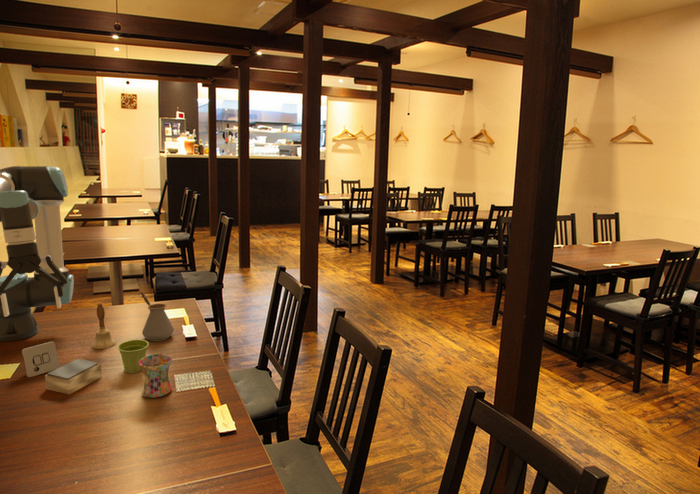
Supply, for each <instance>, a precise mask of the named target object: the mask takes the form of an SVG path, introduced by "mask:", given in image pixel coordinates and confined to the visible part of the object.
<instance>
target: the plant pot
mask: <svg viewBox="0 0 700 494" xmlns="http://www.w3.org/2000/svg"><path fill="white" fill-rule="evenodd" d="M149 345H150V343H149V341H147V340H144V339H132V340H131V339H130V340H127V341H124V342H121V343H119V344H118V345H117V350H118V351H119V353H120V356H121V360H122V364H123V369H124V372H126V373H127V374H136V373H139V372H140V371H141V372H143V371H142V369H141V367H140V366H139V361H140V360H141V359H142V358H144V357H146V356H147V350H148V347H149Z"/></svg>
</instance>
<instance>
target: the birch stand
mask: <svg viewBox="0 0 700 494" xmlns="http://www.w3.org/2000/svg"><path fill="white" fill-rule="evenodd" d="M44 376H45V377H44V379H45V380H44V381H45V387H46V390H49V391H53V392H58V393H62V394H66V395H71V394H73V393H75V392H77V391H78V390H80V389H83V388H84V387H86V386H87V385H89V384H91V383H93V382H95V381H96V380H99V379H100V378H102V377H103V376H102V365H101V363H99V362H97V361H92V360H88V359H87V360H86V359H82V358H77V359H74V360H73V361H70V362H69V363H66V364H64V365H62V366H60V367H59V368H58V369H56V370H52V371H49V372H46V374H45V375H44Z"/></svg>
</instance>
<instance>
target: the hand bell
mask: <svg viewBox="0 0 700 494" xmlns="http://www.w3.org/2000/svg"><path fill="white" fill-rule="evenodd" d="M105 314H106V313H105V308H104V305H103V304H102V303H98V304H97V308H96V316H97V319H98V323H99V329H98V330H97V331H95V338H94V341H93V342H91V348H92V349H96V350H102V349H109V348H111V347H113V346H115V345H116V344H117V341H116V339H113V337H112V336H111V332H110V329H108V328H106V326H105V325H106V324H105Z"/></svg>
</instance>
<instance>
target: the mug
mask: <svg viewBox="0 0 700 494" xmlns="http://www.w3.org/2000/svg"><path fill="white" fill-rule="evenodd" d="M172 360H173V357H172V356H171V355H169V354H166V353H152V354H149V355H146V357H144V358H142V359H141V360H140V361H139V366H140V367H141V369H142V371H141V372H142V374H143V379H144V382H143V383H144V384H143V387H142V390H141V393H142V395H143V396H144V397H146V398H160V397H164V396H166V395H168V394H169V393H170V392H171V391H172V389H173V386H172V384H171V383H170V379H169V370H170V366H171V364H172Z"/></svg>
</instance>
